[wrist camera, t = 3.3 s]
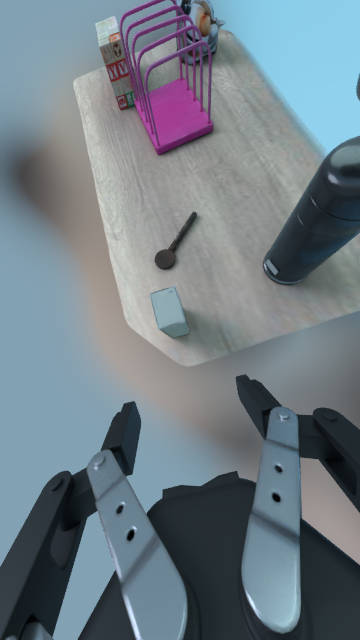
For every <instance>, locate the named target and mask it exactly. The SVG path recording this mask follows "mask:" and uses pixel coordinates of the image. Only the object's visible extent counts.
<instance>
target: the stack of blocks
mask: <svg viewBox="0 0 360 640" xmlns="http://www.w3.org/2000/svg"><path fill="white" fill-rule="evenodd" d="M95 25H96V29H97V33H98V40H99V47H100V50H101V53H102V56H103V59H104V62H105V65H106V69H107V72H108V75H109V78H110V81H111V83H112V86H113V89H114V92H115V95H116V99H117V102H118V105H119V108H120V110H122V109H125V108H128V107H130V106H133V105H135V103H134V100H135V99H136V97H135V93H134V89H133V85H132V81H131V77H130V73H129V69H128V65H127V61H126V57H125V53H124V48H123V44H122V40H121V36H120V32H119V28H118V25H117V22H116V19H115V16H113V17H110V18H108V19H106V20H103V21H102V22H98V23H96V24H95Z"/></svg>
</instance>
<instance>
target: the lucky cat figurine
mask: <svg viewBox="0 0 360 640" xmlns="http://www.w3.org/2000/svg"><path fill="white" fill-rule="evenodd" d="M176 4H177V5H178V6H180V7H181V8H182V10H183V12H184V14H185V15H188V16H189V17H190V18H191V19H192V21H193V23H194V25H195V26H197V27H198V29H199V30H200V32H201V36H202V41H205V42H206V43H207V44H208V45H209V47H210V50H211V53H212V52H214V51H216V49H217V41H218V30H219V22H220V21H218V19H217V18H214V14H213V13H214V11H213V8H212V5H211V3H210V1H209V0H176ZM178 15H179V16H181V15H182V14H181V13H180V11H178ZM189 25H191V24H190V22H189V21H188V20H186V26H189ZM182 28H184V23H183V20H182V21H179V29H182ZM186 33H187V46H189V45H192V44H193V32H192V30H190V31H188V32H186ZM176 38H177V40H176V41H177V51H179V46H178V36H177V37H176ZM198 41H199V36H198V33H197V32H196V31H195V43H196V42H198ZM180 45H181V49H183V48H185V40H184V33H183V34H181V35H180ZM202 52H203V57H204V56H206V55H208V50H207V48H206V47H205V46H202ZM187 56H188V64H190V65H192V64H193V49H192V50H190V51H188V52H187ZM199 59H200V46H199V47H197V48H195V61H198V60H199ZM181 61H182V62H184V63H186V59H185V53H184V54H182V55H181Z"/></svg>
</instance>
